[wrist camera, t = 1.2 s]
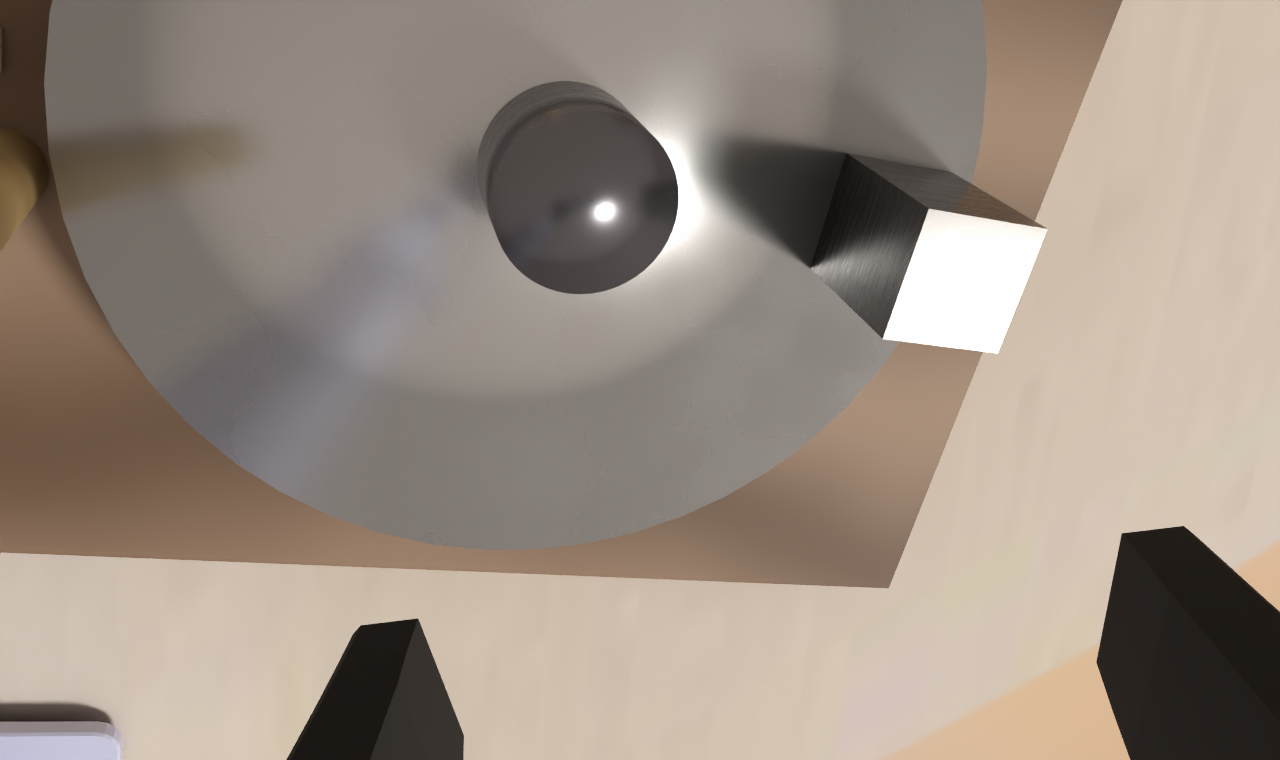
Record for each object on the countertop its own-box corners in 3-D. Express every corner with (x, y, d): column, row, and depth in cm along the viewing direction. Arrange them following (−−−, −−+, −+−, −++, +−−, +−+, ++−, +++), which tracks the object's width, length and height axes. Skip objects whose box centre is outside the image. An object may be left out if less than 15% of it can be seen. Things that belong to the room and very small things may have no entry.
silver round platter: (810, 531, 22) (898, 662, 19) (57, 487, 18) (-7, 649, 15) (1112, -323, 16) (1322, -356, 13) (73, -716, 12) (-32, -929, 8)
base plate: (860, 548, 25) (940, 661, 22) (-80, 498, 19) (-166, 643, 16) (1171, -275, 18) (1356, -291, 15) (-140, -758, 12) (-313, -965, 9)
